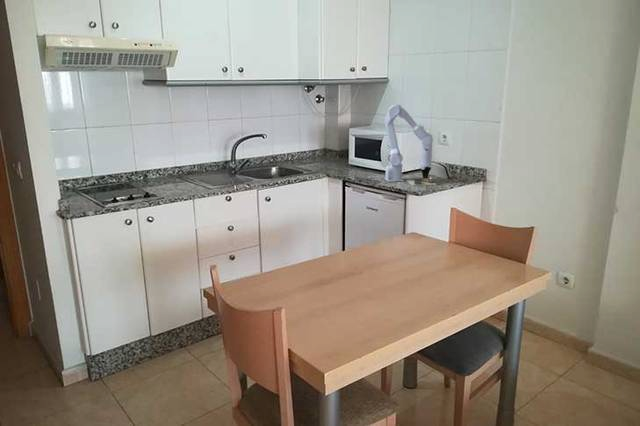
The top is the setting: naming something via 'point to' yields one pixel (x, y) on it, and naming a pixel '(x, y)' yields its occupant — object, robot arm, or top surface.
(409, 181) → the base board
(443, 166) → the grey piece
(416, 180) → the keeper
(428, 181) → the link
